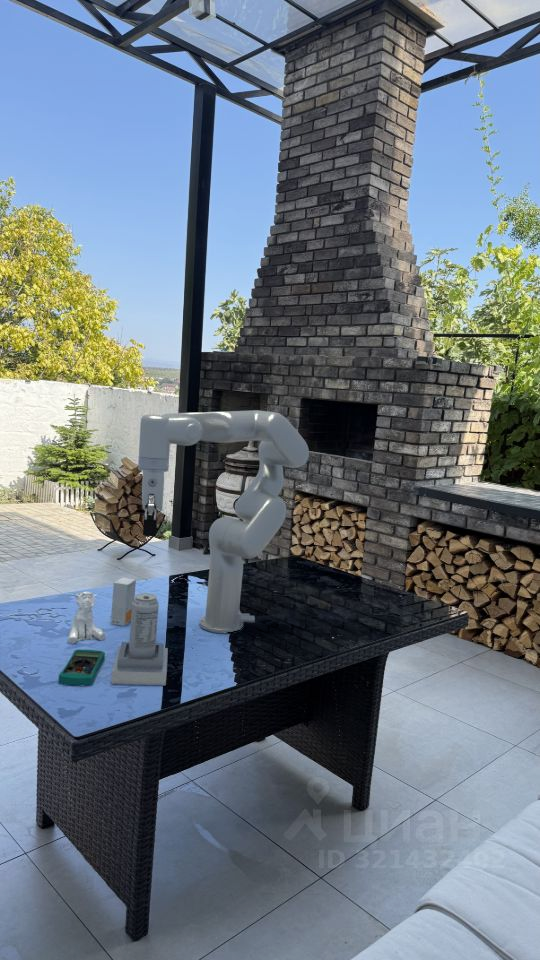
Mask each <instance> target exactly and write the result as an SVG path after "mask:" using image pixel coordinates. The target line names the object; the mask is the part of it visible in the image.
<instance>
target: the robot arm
mask: <svg viewBox="0 0 540 960" xmlns="http://www.w3.org/2000/svg"><path fill="white" fill-rule="evenodd" d="M139 425H140V427H139V444H138V446H139V447H138V465H137V466H138V467H137V469H138V471H142V480H141V481H142V482H141V485H142V486H141V499H142V501H141V502H142V510H143V511H144V518H143V525H142V536H144V537H147V536H149V537H156V535H157V524H158V512H157V511H159V512H161V511H163V507H164V506H163V504H164V503H163V502H164V491H165V489H164V487H165V473H167V472H169V466H170V465H169V464H170V450H171V449H170V447H171V444H172V445H180V446H184V447H185V446H193V445H195V444H197V443H198V442H199V441H203V442H204V441H205V442H211V443H224V444H225V443H226V444H228V443H236V442H237V443H238V442H251V441H259V442H260V443H259V445H258V458H259V469H258V472H257V474H256V476H255V477H254V479H252V482H251V483H250V484H249V485H248V486H247V488H246V489H245V490H244V491H243V493H242V494H241V495H240V497H239V498H238V499H237V501H236V503H235V505H234V513H235V514H236V516H237V517H238V518H239V519H237V518H233V517H229V516H228V517H227V516H224V517H223V516H222V517H220V518H217V519H215V521H213V522H212V524H211V525H210V528H209V530H208V531H209V532H208V543H209V553H210V554H209V555H210V556H209V557H210V558H209V572H208V583H207V594H206V595H207V596H206V604H205V605H206V606H205V615H204V616H203V617H200V619H199V626H200V627H201V629H203V630H206V631H207V632H212V633H216V634H225V633H224V632H233V631H237V630H240V629H241V628H242V627H243V628H244V623H255V621H256V620H255V619H256V617H255V615H250V613H242V611H241V610H240V603H241V594H242V593H241V592H242V584H243V583H242V582H243V573H244V562H243V561H244V560H243V559H248V560H249V559H254V558H257V557H258V556H259V555H260V554H261V553H262V552H263V551H264V549H265V548H266V547H267V546H268V544H269V543H270V542H271V540H272V539H273V537H275V535H276V534H277V532H278V531H279V530H280V529H281V527H282V526H283V524H284V522H285V519H286V515H287V506H286V505H287V504H286V503H285V501H284V499H282V497H280V496H279V494H280V493H281V491H282V490H283V487H284V485H285V484H284V482H285V477H284V469H283V467H288V468H290V469H291V468H293V469H298V468H300V467H302V466H303V467H304V466H305V464H306V463H307V462H308V460H309V455H310V450H309V446H308V444H307V442H306V440H305V439H304V438H303V436H302V435H301V434H300V433H299V431H298V430H297V429H296V428H295V427H294V426H293V424H292V423H291V422H290V421H289V419H288V418H286V417H285V416H284V415H282V414H281V413H278V412H274V411H267V410H266V411H265V410H259V409H257V410H255V409H254V410H233V411H229V410H228V411H225V410H224V411H207V412H174V413H172V412H170V413H165V414H162V415H161V414H145V415H143V416H142V417H140V424H139ZM243 628H242V629H243ZM242 629H241V630H242ZM241 630H240V631H241Z"/></svg>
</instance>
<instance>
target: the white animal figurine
mask: <svg viewBox="0 0 540 960" xmlns="http://www.w3.org/2000/svg"><path fill="white" fill-rule="evenodd" d="M73 595H74V598H75V599H76V600H77V602H76V604H77V606H78V609H77V610H76V612H75V613H74V617H73V618H74V619H73V621H72V622H71V627H70V631H69V633H68V636H67V637H68V639H67V641H68V643H69V644H71V645H73V644H76V643H77V642H82V641H85V640H87V641H89V640H90V641H91V640H98V641H101V642H102V641H104V640H105V638H106V633H105V632H104V631H103V630H102V628H99V627H96V625H95V624H94V613H93V610H92V608H93V607H94V606H95V605H96V602H95V601H96V600H95V599H96V596H97V593H96V594H93V592H90V591H82V592H80V593H79V594H77V593H74V594H73Z"/></svg>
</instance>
